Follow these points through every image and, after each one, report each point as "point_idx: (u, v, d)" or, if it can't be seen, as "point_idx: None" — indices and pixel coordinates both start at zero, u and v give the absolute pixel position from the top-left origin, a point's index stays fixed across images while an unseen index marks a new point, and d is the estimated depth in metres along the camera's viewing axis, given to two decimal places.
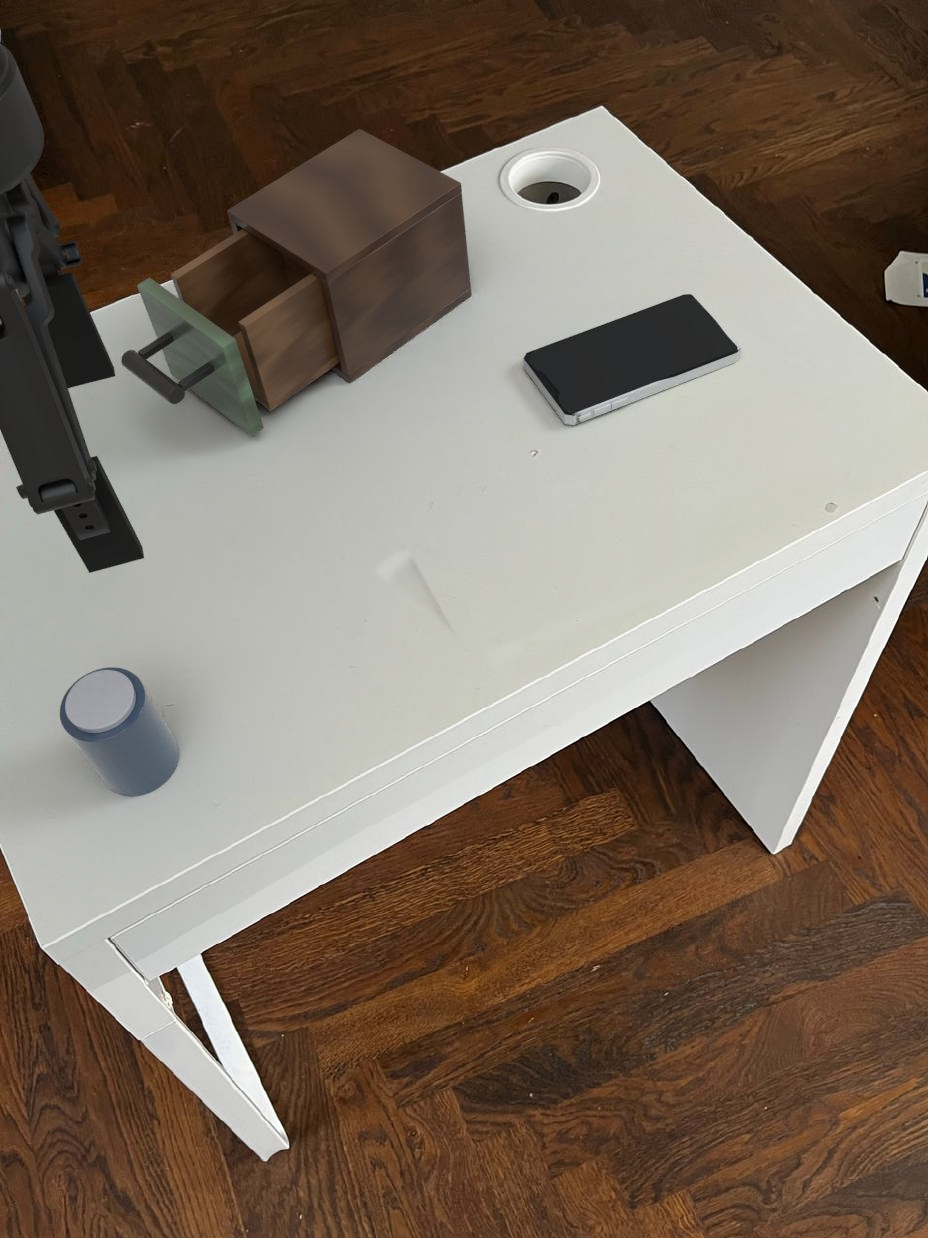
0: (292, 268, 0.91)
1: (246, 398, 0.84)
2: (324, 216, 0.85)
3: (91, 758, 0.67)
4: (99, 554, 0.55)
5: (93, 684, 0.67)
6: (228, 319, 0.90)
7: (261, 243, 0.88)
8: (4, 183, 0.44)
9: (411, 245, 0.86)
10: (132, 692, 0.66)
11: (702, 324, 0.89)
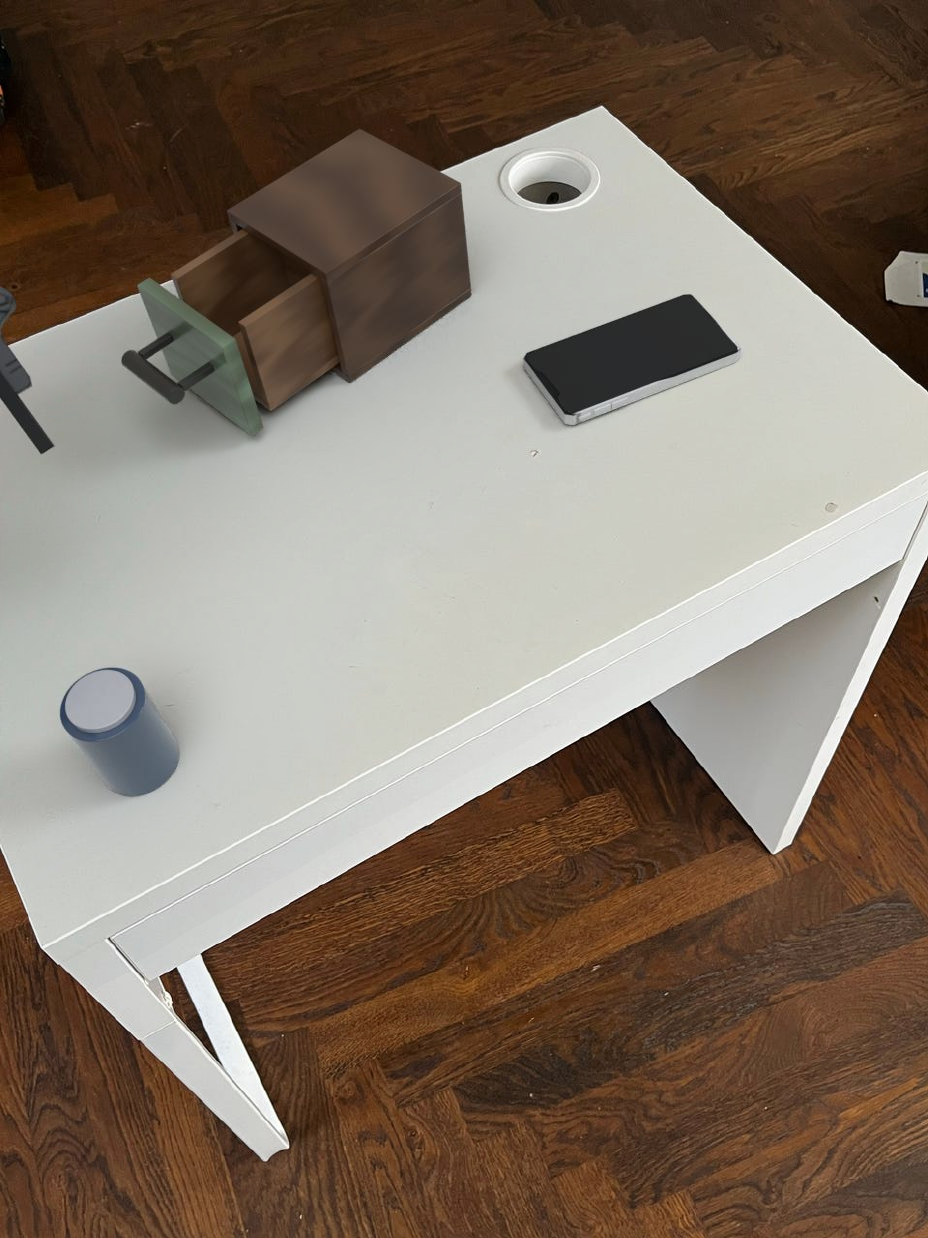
0: (292, 268, 0.91)
1: (246, 398, 0.84)
2: (324, 216, 0.85)
3: (91, 758, 0.67)
4: (41, 430, 0.64)
5: (93, 684, 0.67)
6: (228, 319, 0.90)
7: (261, 243, 0.88)
8: None
9: (411, 245, 0.86)
10: (132, 692, 0.66)
11: (702, 324, 0.89)
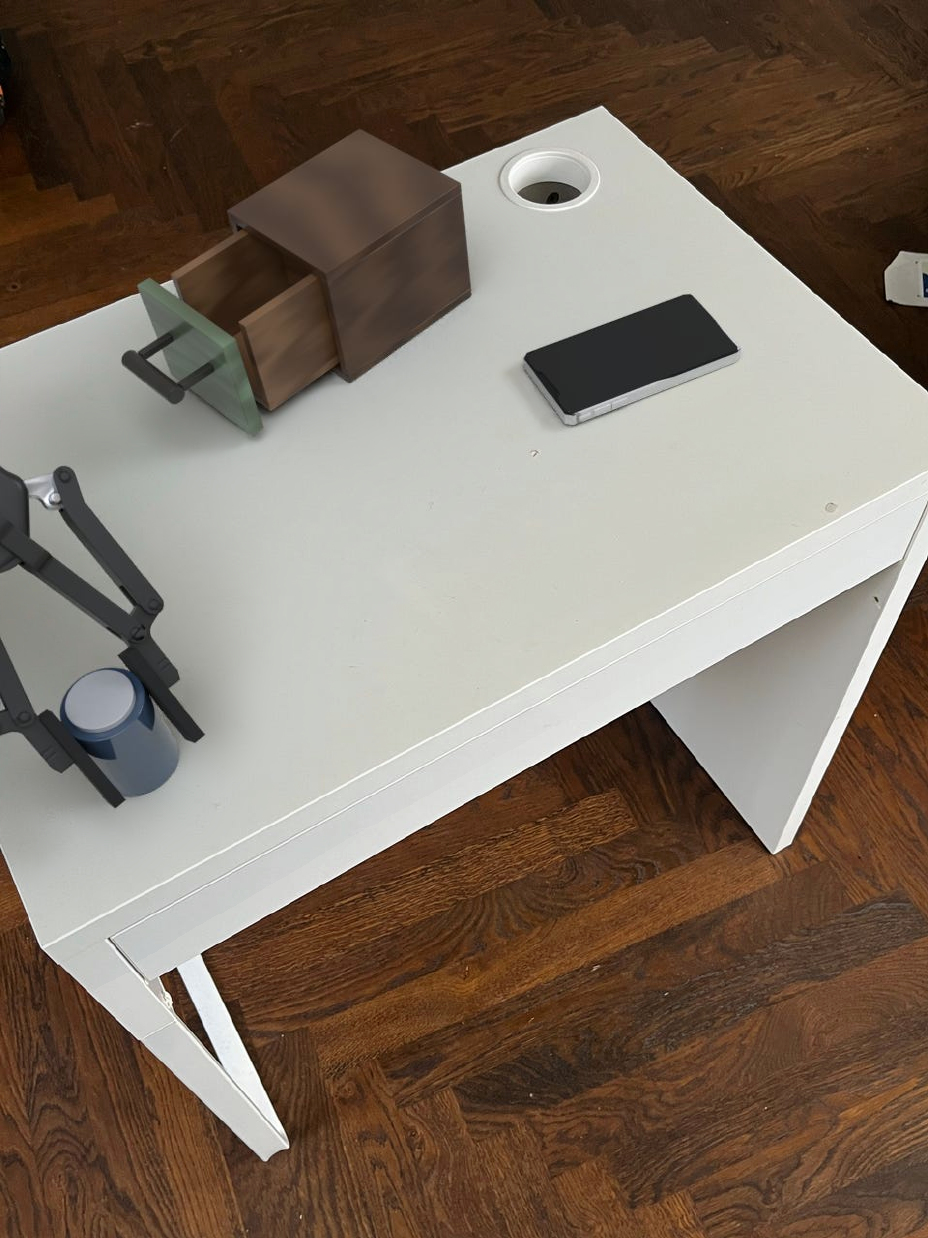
0: (292, 268, 0.91)
1: (246, 398, 0.84)
2: (324, 216, 0.85)
3: None
4: None
5: (93, 684, 0.67)
6: (228, 319, 0.90)
7: (261, 243, 0.88)
8: None
9: (411, 245, 0.86)
10: (132, 692, 0.66)
11: (702, 324, 0.89)
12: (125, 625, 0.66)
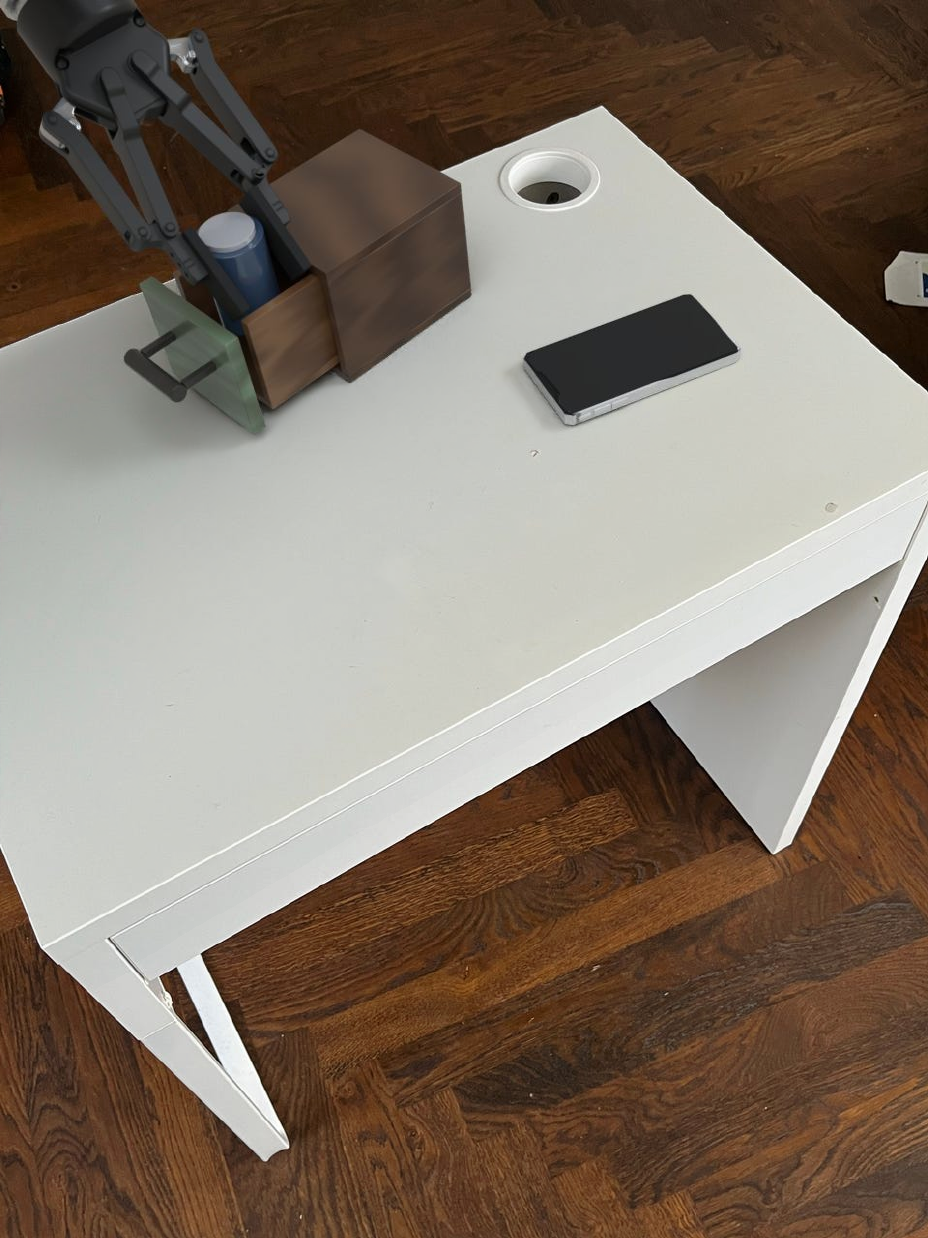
0: None
1: (248, 396, 0.84)
2: (324, 216, 0.85)
3: None
4: None
5: (220, 220, 0.81)
6: None
7: None
8: None
9: (411, 245, 0.86)
10: (253, 223, 0.81)
11: (702, 324, 0.89)
12: (248, 166, 0.80)
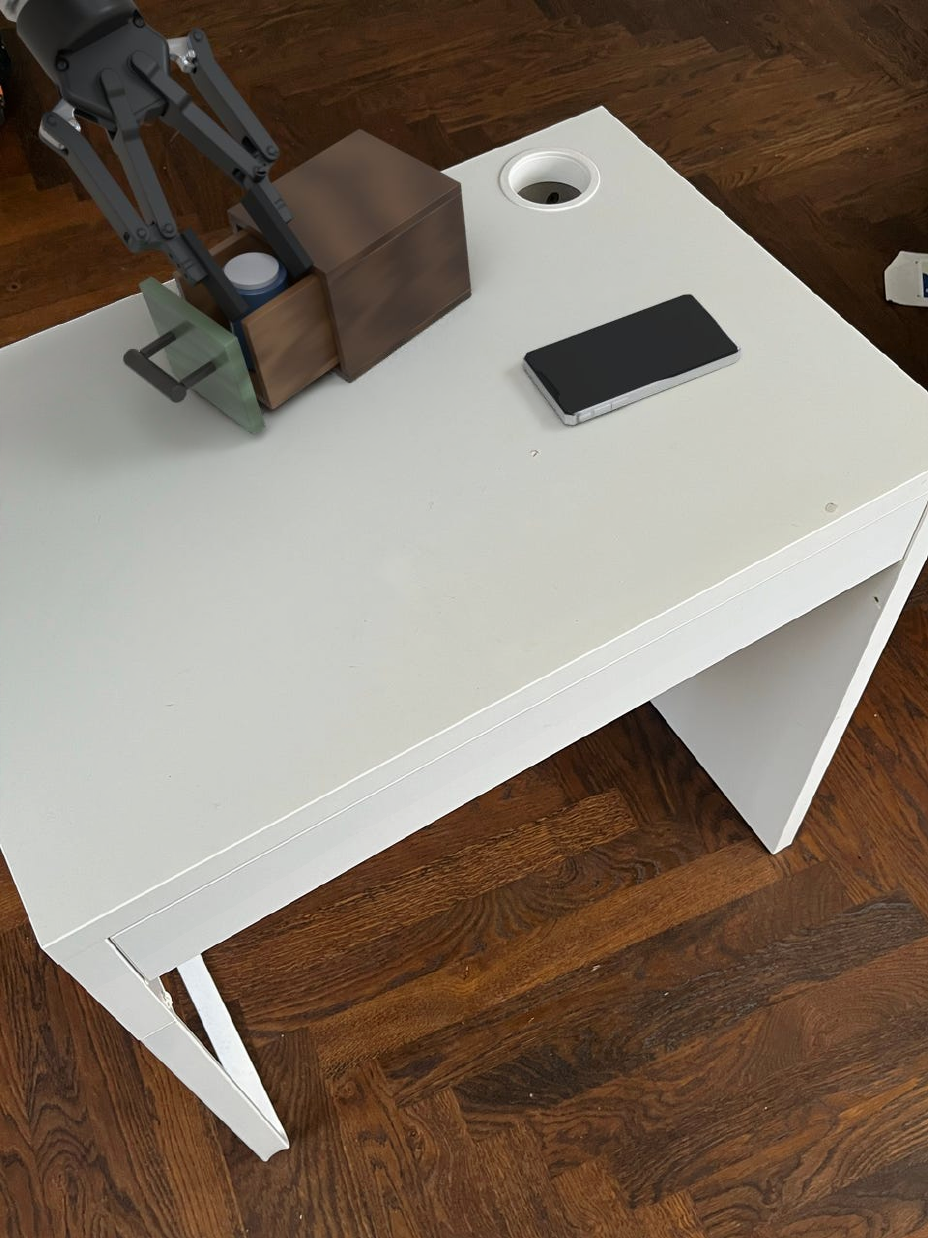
0: None
1: (248, 397, 0.84)
2: (324, 216, 0.85)
3: (240, 320, 0.85)
4: None
5: (245, 259, 0.85)
6: None
7: (263, 242, 0.88)
8: None
9: (411, 245, 0.86)
10: (278, 264, 0.84)
11: (702, 324, 0.89)
12: (249, 164, 0.80)
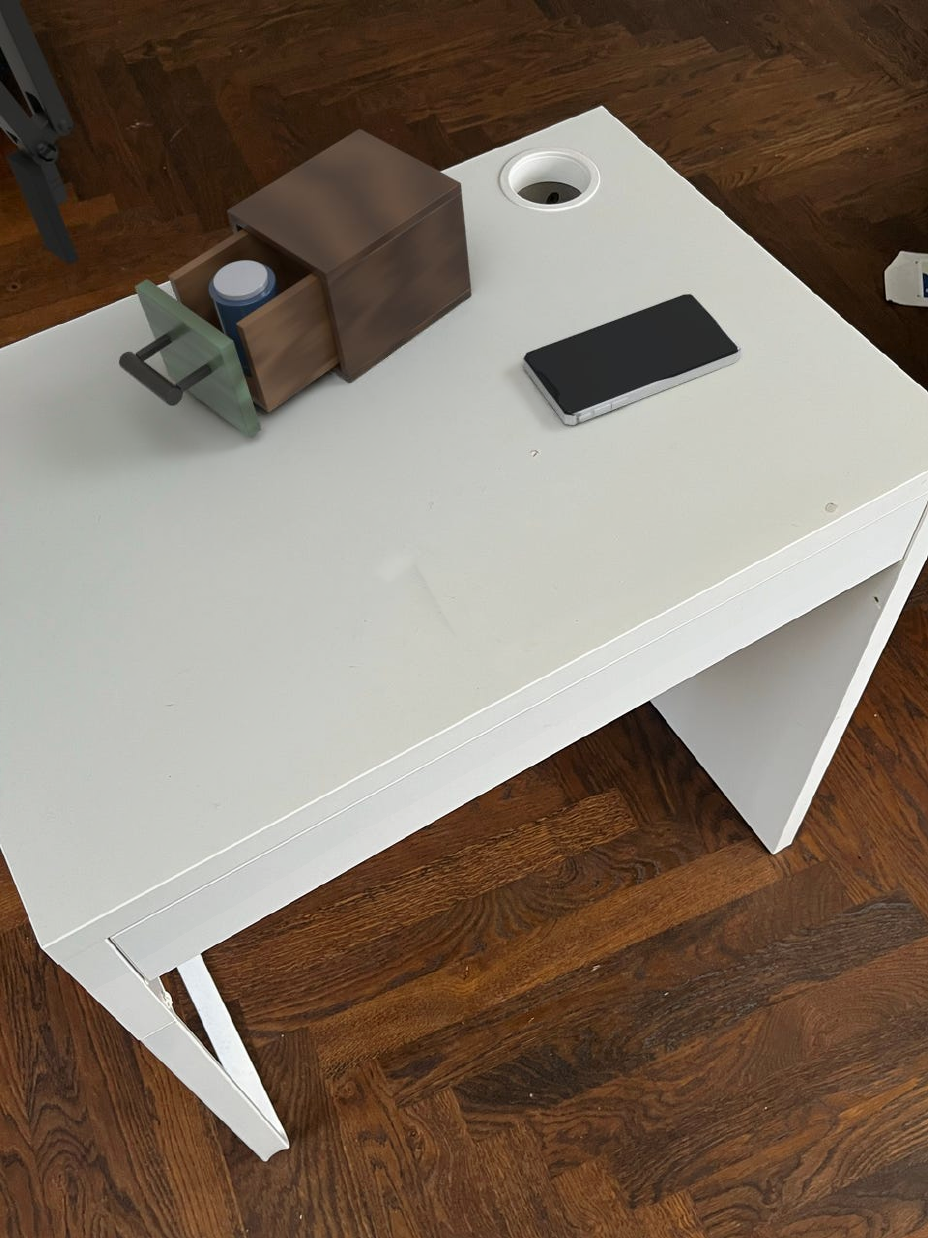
0: (290, 269, 0.91)
1: (244, 400, 0.84)
2: (324, 216, 0.85)
3: (232, 330, 0.85)
4: None
5: (234, 269, 0.84)
6: None
7: (259, 244, 0.88)
8: None
9: (411, 245, 0.86)
10: (266, 272, 0.84)
11: (702, 324, 0.89)
12: (34, 140, 0.66)
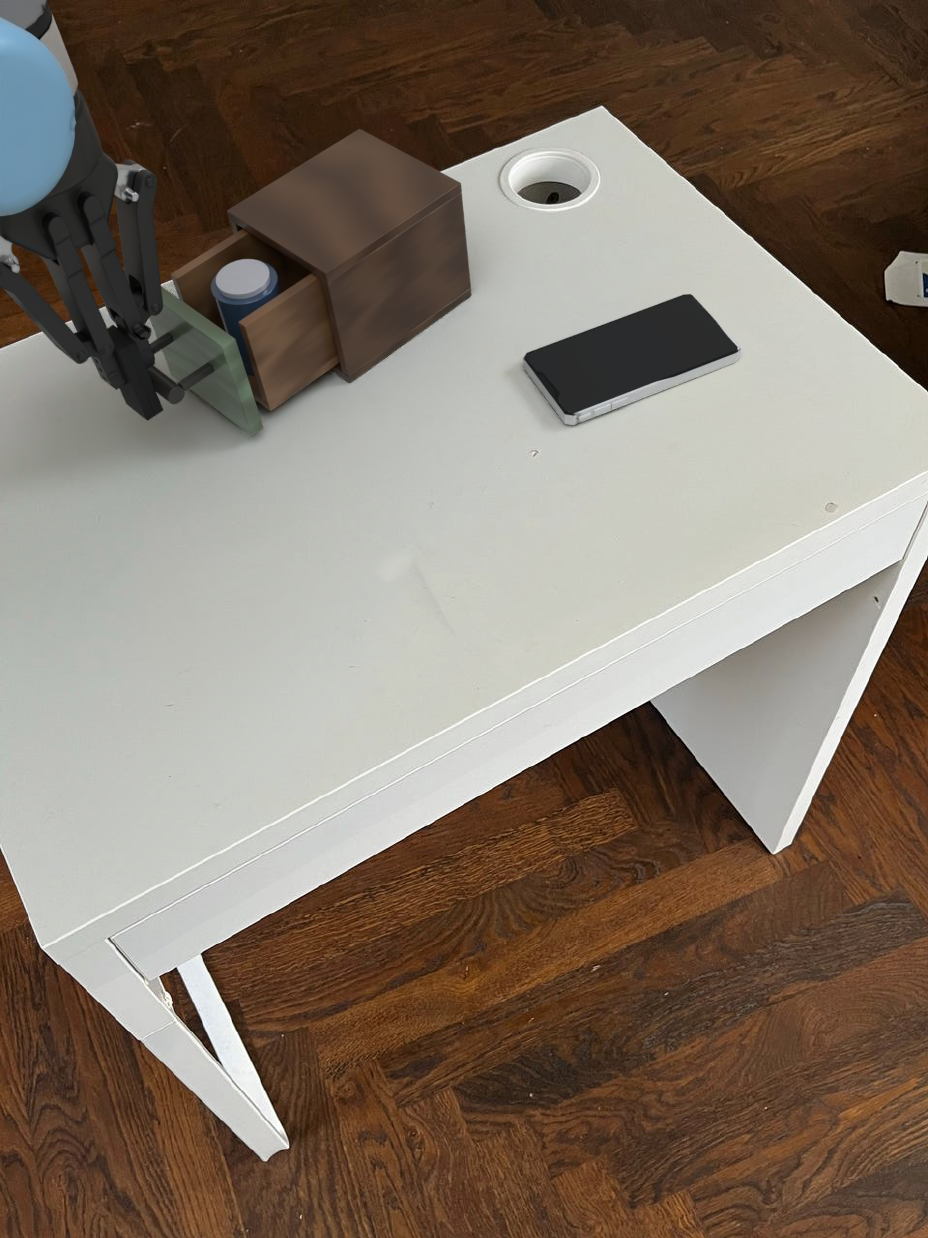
0: (292, 268, 0.91)
1: (246, 398, 0.84)
2: (324, 216, 0.85)
3: (234, 328, 0.85)
4: None
5: (236, 267, 0.85)
6: None
7: (261, 243, 0.88)
8: None
9: (411, 245, 0.86)
10: (268, 271, 0.84)
11: (702, 324, 0.89)
12: (134, 321, 0.78)
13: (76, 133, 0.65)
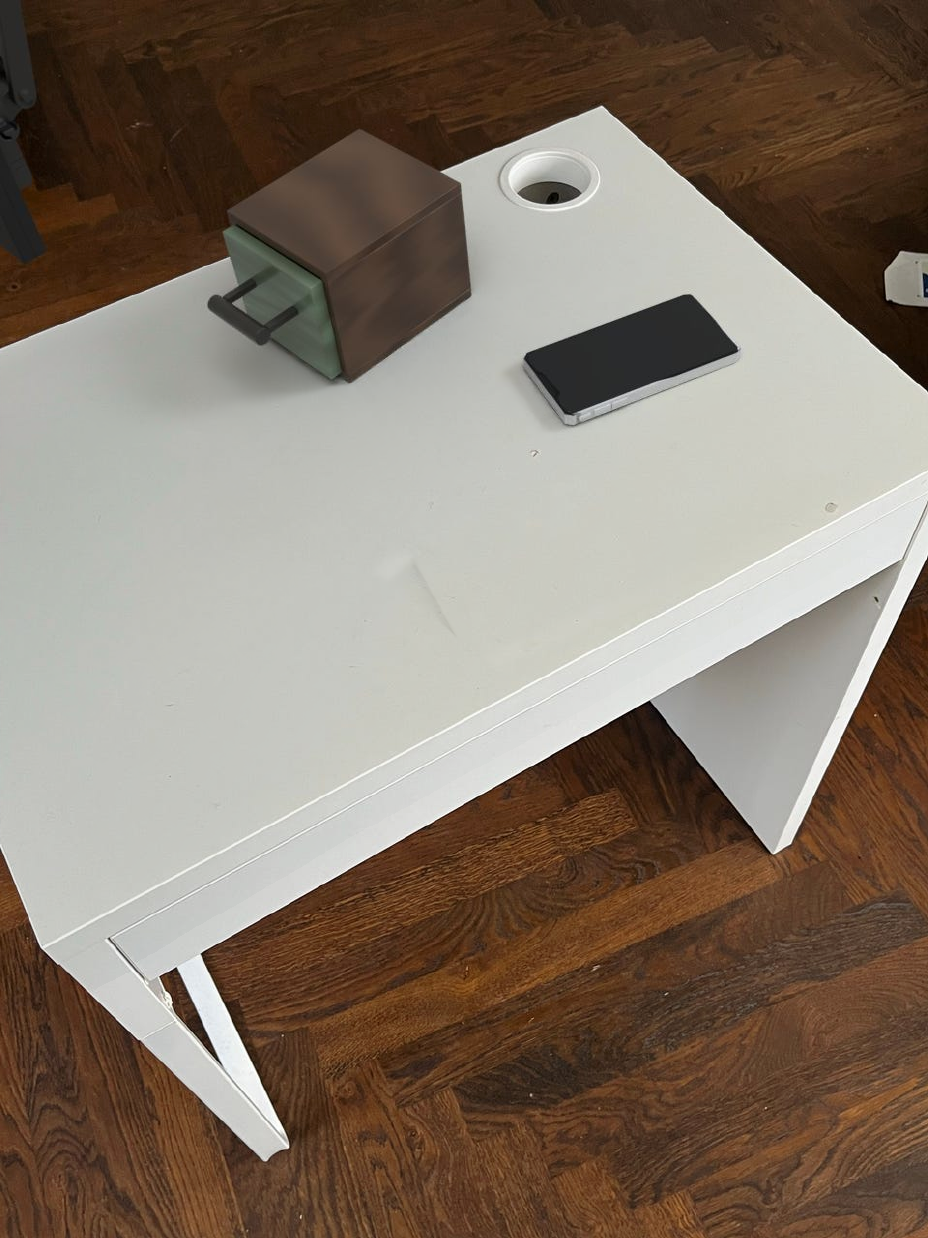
0: None
1: (328, 341, 0.87)
2: (324, 216, 0.85)
3: None
4: None
5: None
6: None
7: None
8: None
9: (411, 245, 0.86)
10: None
11: (702, 324, 0.89)
12: None
13: None
